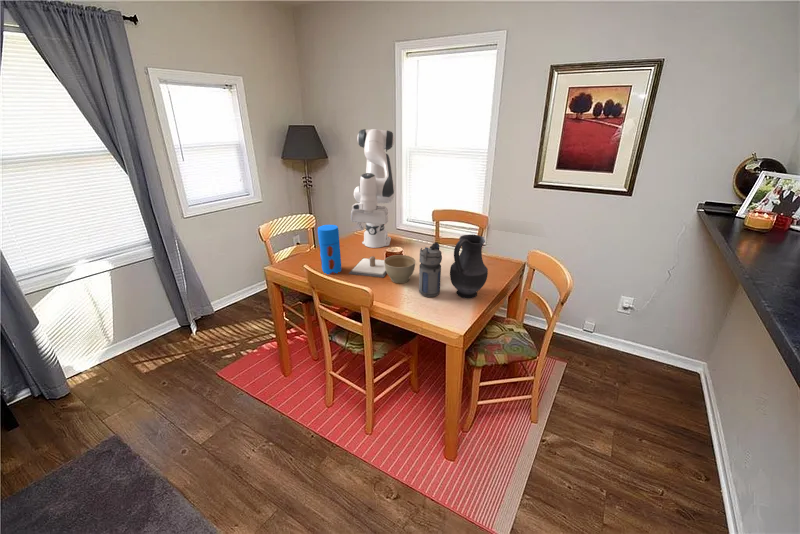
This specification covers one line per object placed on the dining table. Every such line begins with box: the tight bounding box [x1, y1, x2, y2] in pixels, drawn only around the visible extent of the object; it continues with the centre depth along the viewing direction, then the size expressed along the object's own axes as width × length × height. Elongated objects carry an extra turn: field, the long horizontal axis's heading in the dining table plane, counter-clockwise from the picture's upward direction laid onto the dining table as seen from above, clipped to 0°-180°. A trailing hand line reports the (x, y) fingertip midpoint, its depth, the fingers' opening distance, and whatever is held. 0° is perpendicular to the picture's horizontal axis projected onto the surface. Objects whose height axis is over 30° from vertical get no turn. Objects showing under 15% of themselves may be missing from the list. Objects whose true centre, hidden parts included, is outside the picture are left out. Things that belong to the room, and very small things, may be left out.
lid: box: [351, 256, 386, 275], centre depth 194 cm, size 18×18×6 cm
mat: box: [348, 257, 388, 279], centre depth 196 cm, size 22×20×1 cm
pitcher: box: [449, 234, 489, 300], centre depth 159 cm, size 17×21×30 cm
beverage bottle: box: [418, 241, 443, 298], centre depth 163 cm, size 10×13×25 cm
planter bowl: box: [383, 254, 416, 284], centre depth 179 cm, size 16×16×11 cm
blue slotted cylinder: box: [317, 224, 342, 275], centre depth 188 cm, size 11×11×25 cm
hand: (369, 230), depth 187 cm, fingers open, 8 cm apart
